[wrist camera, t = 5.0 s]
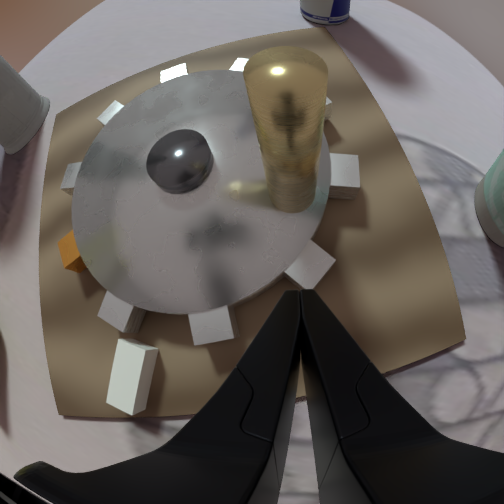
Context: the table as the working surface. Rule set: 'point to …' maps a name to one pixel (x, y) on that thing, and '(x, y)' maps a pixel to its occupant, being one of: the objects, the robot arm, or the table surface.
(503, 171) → the coffee cup
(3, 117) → the tall grey black mug
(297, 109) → the sprocket
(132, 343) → the pale mint brick
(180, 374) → the sprocket board
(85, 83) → the table surface
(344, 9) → the energy drink
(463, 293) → the table surface
